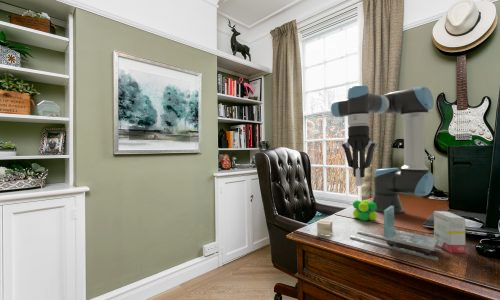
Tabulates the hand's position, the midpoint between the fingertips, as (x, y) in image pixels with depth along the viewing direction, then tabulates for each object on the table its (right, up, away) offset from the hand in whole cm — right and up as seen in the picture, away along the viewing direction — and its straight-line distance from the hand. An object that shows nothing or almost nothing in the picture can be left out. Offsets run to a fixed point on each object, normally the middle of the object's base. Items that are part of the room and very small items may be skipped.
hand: (359, 185), depth 93 cm
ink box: (+26, -20, -11) cm, 35 cm away
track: (+8, -20, -8) cm, 23 cm away
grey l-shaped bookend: (+12, -20, -12) cm, 26 cm away
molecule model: (+13, -20, +22) cm, 33 cm away
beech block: (-12, -21, +4) cm, 24 cm away
